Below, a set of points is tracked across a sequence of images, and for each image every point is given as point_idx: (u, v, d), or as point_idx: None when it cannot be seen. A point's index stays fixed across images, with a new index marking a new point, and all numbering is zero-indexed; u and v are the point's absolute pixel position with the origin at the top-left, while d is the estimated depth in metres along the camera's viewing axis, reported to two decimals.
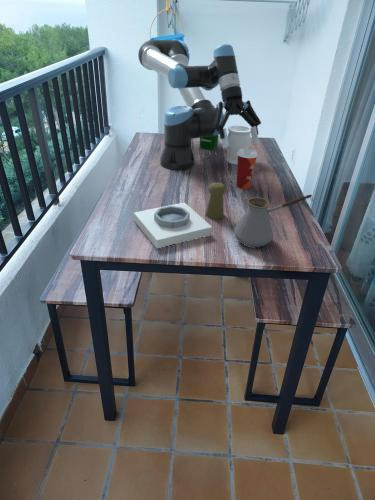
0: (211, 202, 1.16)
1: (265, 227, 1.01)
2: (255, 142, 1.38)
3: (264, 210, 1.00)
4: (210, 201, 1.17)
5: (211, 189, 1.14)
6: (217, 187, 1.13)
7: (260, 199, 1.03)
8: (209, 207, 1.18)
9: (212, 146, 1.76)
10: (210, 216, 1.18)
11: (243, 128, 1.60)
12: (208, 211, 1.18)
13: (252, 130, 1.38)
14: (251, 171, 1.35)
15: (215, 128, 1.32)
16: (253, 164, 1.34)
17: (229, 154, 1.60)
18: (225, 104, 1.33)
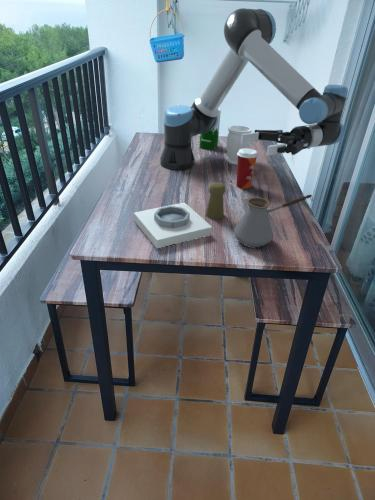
0: (211, 202, 1.16)
1: (265, 227, 1.01)
2: (243, 139, 1.19)
3: (264, 210, 1.00)
4: (210, 201, 1.17)
5: (211, 189, 1.14)
6: (217, 187, 1.13)
7: (260, 199, 1.03)
8: (209, 207, 1.18)
9: (212, 146, 1.76)
10: (210, 216, 1.18)
11: (243, 128, 1.60)
12: (208, 211, 1.18)
13: (255, 136, 1.20)
14: (251, 171, 1.35)
15: (293, 149, 1.09)
16: (253, 164, 1.34)
17: (229, 154, 1.60)
18: None
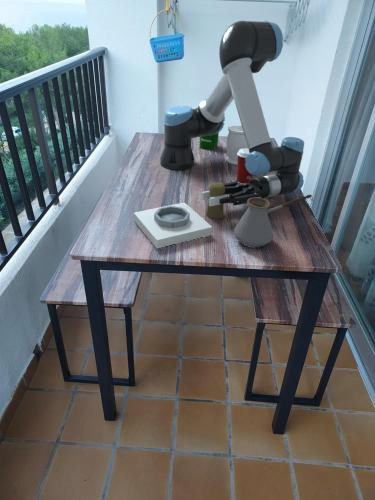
0: None
1: (265, 227, 1.01)
2: (204, 197, 1.17)
3: (264, 210, 1.00)
4: None
5: (211, 189, 1.14)
6: (217, 187, 1.13)
7: (260, 199, 1.03)
8: (209, 207, 1.18)
9: (212, 146, 1.76)
10: (210, 216, 1.18)
11: None
12: (208, 211, 1.18)
13: None
14: None
15: (234, 200, 1.14)
16: None
17: (229, 154, 1.60)
18: None
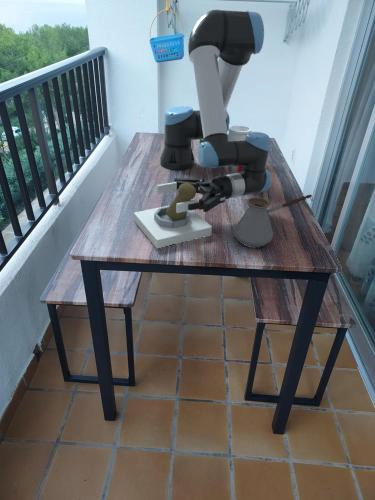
0: (175, 203, 1.04)
1: (265, 227, 1.01)
2: (159, 190, 1.11)
3: (264, 210, 1.00)
4: (175, 201, 1.04)
5: (181, 190, 1.00)
6: (188, 191, 1.00)
7: (260, 199, 1.03)
8: (172, 206, 1.05)
9: None
10: (170, 216, 1.06)
11: (243, 128, 1.60)
12: (170, 210, 1.06)
13: (173, 186, 1.13)
14: None
15: (204, 206, 1.02)
16: None
17: None
18: None
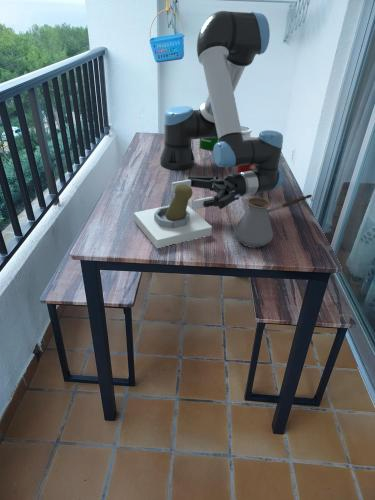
0: (172, 203, 1.05)
1: (265, 227, 1.01)
2: (174, 187, 1.12)
3: (264, 210, 1.00)
4: (172, 202, 1.05)
5: (176, 190, 1.02)
6: (182, 190, 1.01)
7: (260, 199, 1.03)
8: (169, 207, 1.06)
9: (212, 146, 1.76)
10: (167, 217, 1.07)
11: (243, 128, 1.60)
12: (167, 211, 1.07)
13: (187, 184, 1.14)
14: None
15: (219, 203, 1.03)
16: (253, 164, 1.34)
17: None
18: None
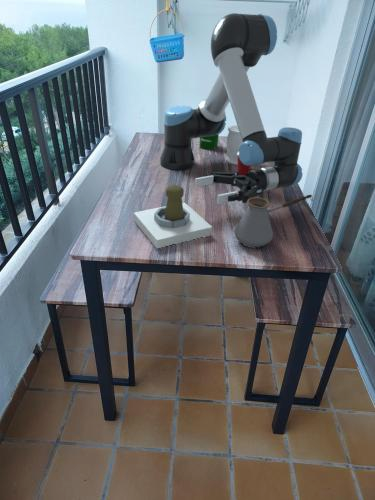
0: (166, 204, 1.06)
1: (265, 227, 1.01)
2: (197, 183, 1.16)
3: (264, 210, 1.00)
4: None
5: (166, 190, 1.03)
6: (170, 190, 1.02)
7: (260, 199, 1.03)
8: None
9: (212, 146, 1.76)
10: (165, 218, 1.08)
11: None
12: (165, 213, 1.08)
13: (210, 180, 1.18)
14: None
15: (243, 198, 1.07)
16: None
17: (229, 154, 1.60)
18: None
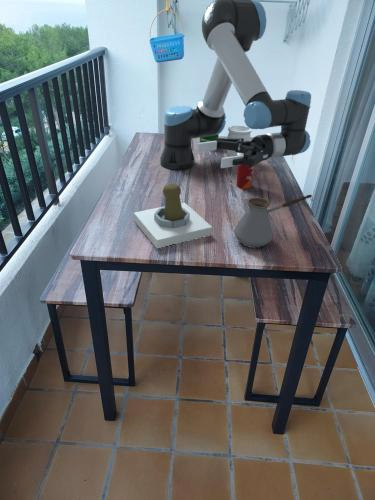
0: (165, 204, 1.07)
1: (265, 227, 1.01)
2: (200, 148, 1.10)
3: (264, 210, 1.00)
4: (165, 203, 1.07)
5: (163, 189, 1.04)
6: (167, 188, 1.03)
7: (260, 199, 1.03)
8: None
9: None
10: (164, 218, 1.09)
11: (243, 128, 1.60)
12: None
13: (213, 145, 1.11)
14: (251, 171, 1.35)
15: (249, 162, 1.01)
16: None
17: (229, 154, 1.60)
18: None
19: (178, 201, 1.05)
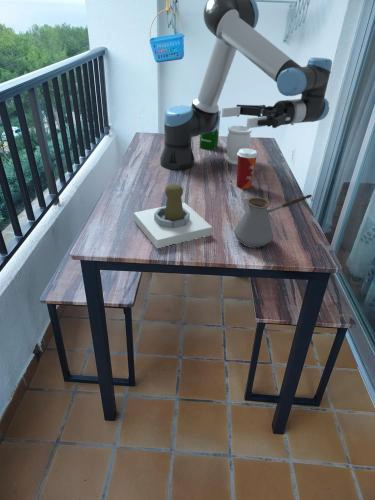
0: (166, 204, 1.07)
1: (265, 227, 1.01)
2: (224, 113, 1.15)
3: (264, 210, 1.00)
4: (166, 202, 1.07)
5: (165, 189, 1.04)
6: (169, 188, 1.03)
7: (260, 199, 1.03)
8: None
9: (212, 146, 1.76)
10: (164, 218, 1.09)
11: (243, 128, 1.60)
12: None
13: (237, 111, 1.16)
14: (251, 171, 1.35)
15: (273, 122, 1.05)
16: (253, 164, 1.34)
17: (229, 154, 1.60)
18: None
19: (179, 202, 1.05)
